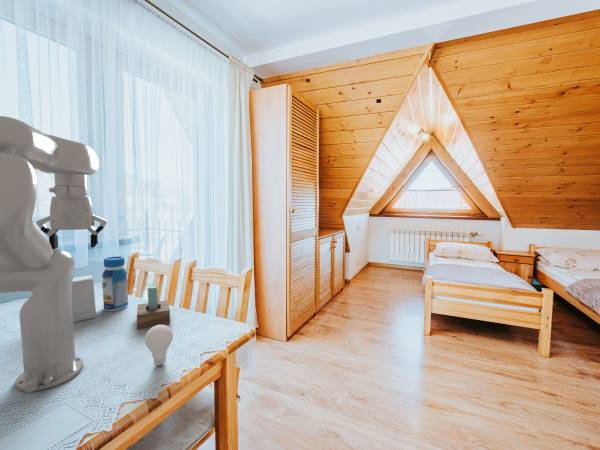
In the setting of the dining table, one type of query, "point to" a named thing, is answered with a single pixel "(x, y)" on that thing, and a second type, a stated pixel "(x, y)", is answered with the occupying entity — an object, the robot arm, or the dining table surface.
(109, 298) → the beverage bottle
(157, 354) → the light bulb
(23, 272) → the robot arm
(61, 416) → the dining table surface
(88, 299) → the skincare box
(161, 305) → the socket block
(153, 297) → the peg
